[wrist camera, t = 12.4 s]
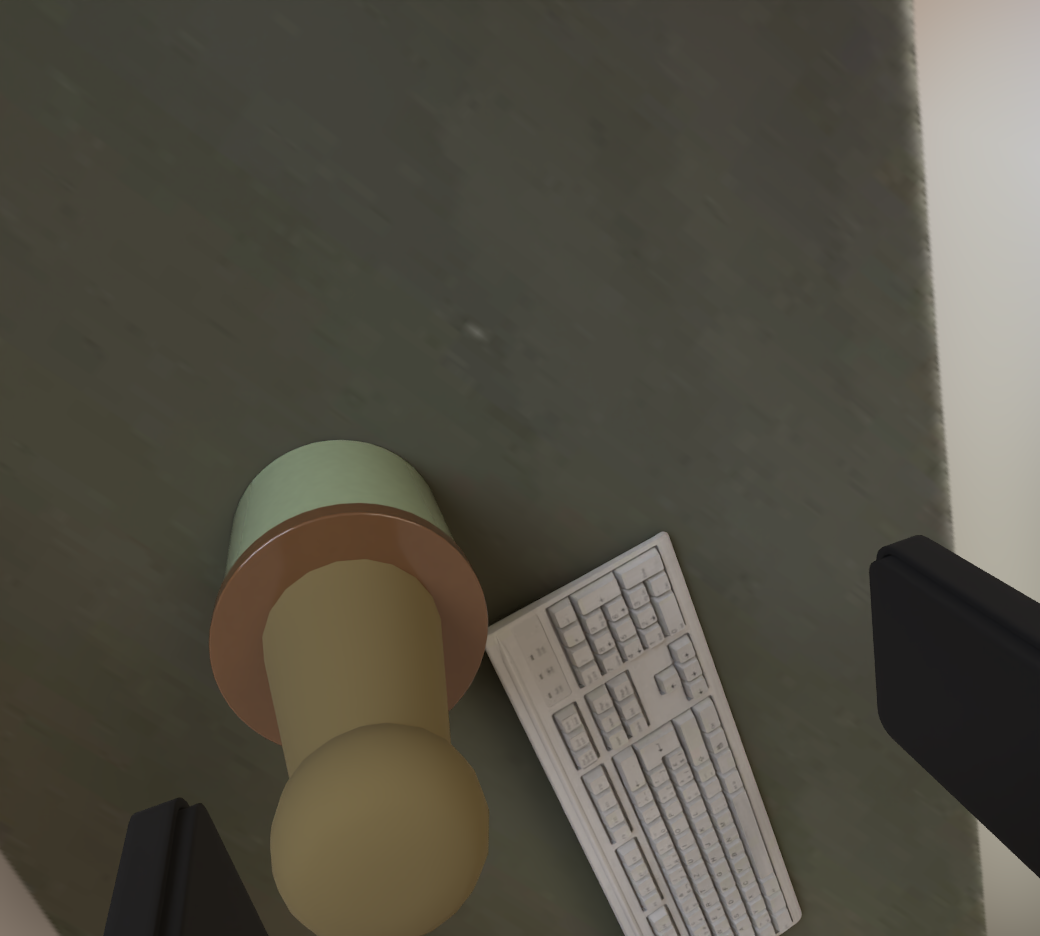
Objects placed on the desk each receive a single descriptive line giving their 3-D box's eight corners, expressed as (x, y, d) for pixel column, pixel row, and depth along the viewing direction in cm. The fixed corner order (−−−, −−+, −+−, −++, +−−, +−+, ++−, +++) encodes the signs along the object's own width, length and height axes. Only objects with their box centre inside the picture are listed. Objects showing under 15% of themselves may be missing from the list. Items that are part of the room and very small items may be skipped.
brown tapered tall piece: (222, 653, 28) (185, 926, 18) (349, 523, 27) (386, 726, 17) (358, 745, 30) (394, 1029, 20) (476, 626, 30) (573, 856, 20)
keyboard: (799, 910, 53) (817, 936, 51) (652, 990, 52) (666, 1020, 50) (663, 527, 41) (681, 543, 39) (472, 621, 40) (480, 642, 38)
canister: (177, 538, 35) (143, 649, 27) (345, 390, 35) (363, 456, 27) (334, 669, 39) (346, 802, 31) (486, 536, 39) (540, 633, 31)
